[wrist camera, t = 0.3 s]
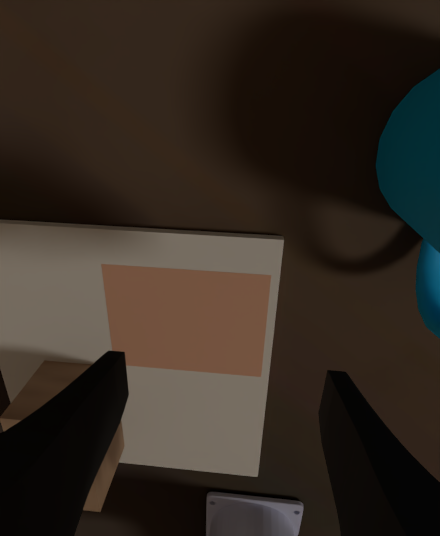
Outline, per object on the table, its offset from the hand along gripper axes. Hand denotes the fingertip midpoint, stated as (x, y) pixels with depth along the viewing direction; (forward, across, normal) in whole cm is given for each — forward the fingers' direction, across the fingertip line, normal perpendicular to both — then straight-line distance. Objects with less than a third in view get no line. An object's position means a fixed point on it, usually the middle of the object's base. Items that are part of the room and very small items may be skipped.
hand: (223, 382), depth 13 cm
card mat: (+10, +7, +8) cm, 14 cm away
